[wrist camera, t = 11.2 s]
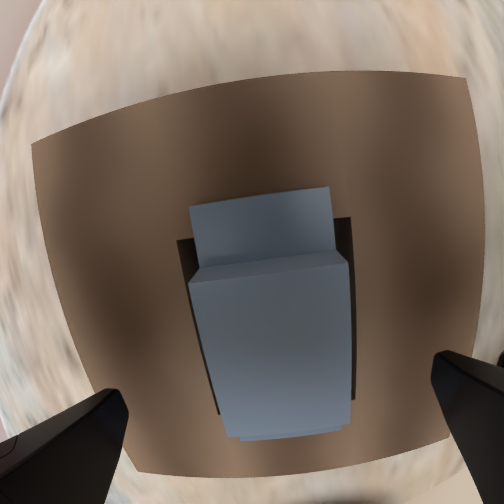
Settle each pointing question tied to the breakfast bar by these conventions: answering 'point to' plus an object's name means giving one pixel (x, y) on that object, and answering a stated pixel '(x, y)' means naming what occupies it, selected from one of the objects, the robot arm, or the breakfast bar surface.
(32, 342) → the breakfast bar surface
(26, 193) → the breakfast bar surface
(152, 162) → the brown rectangular block
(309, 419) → the block
